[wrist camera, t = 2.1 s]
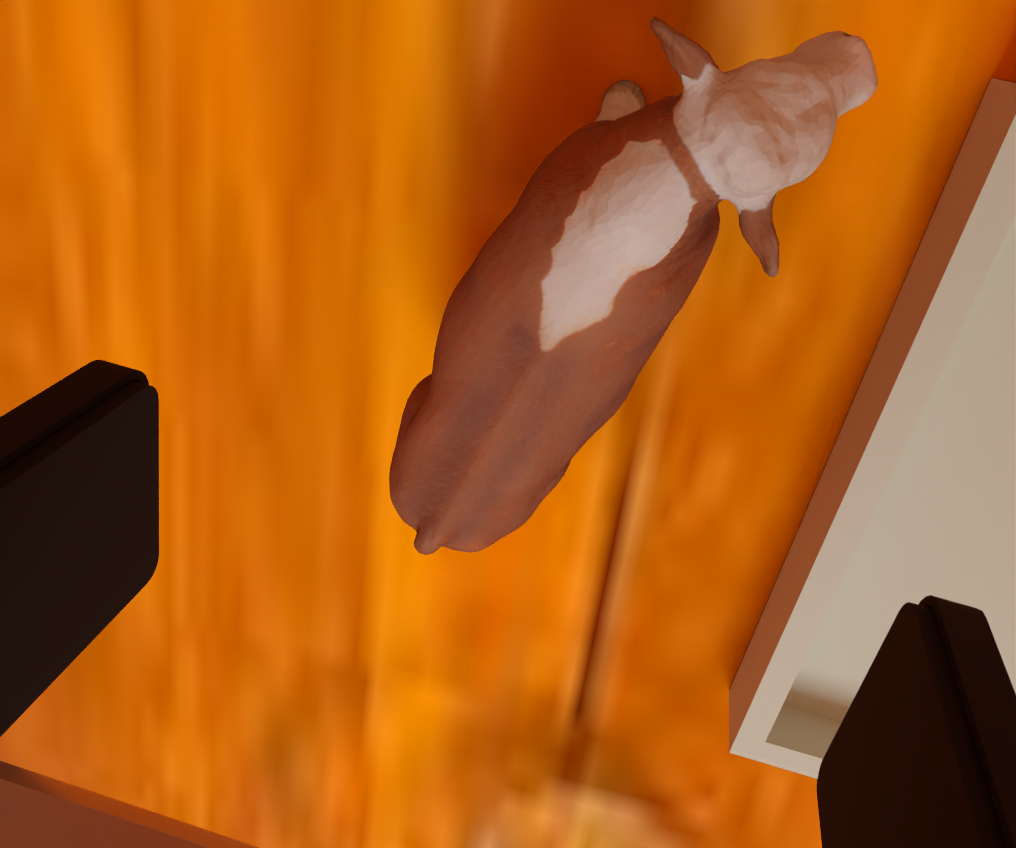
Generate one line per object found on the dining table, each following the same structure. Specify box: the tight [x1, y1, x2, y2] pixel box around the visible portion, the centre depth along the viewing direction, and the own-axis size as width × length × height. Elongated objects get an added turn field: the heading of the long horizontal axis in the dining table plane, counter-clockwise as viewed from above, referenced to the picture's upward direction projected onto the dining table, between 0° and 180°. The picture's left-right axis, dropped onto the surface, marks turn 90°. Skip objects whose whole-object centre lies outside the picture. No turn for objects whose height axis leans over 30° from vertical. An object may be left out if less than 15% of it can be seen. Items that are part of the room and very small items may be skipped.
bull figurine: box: [389, 17, 878, 555], centre depth 19 cm, size 4×13×8 cm, turn 146°
